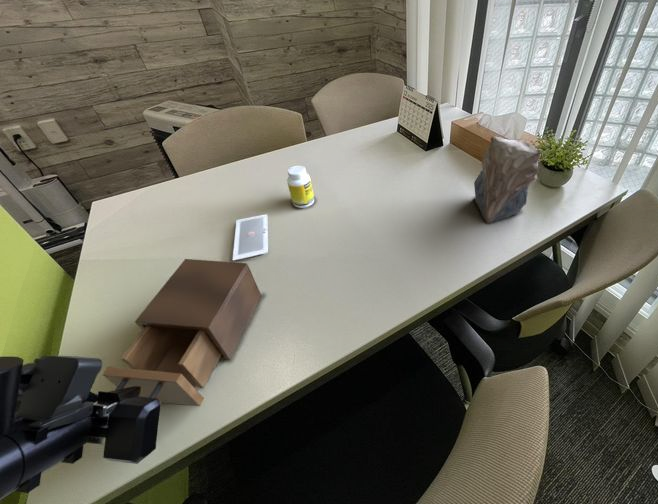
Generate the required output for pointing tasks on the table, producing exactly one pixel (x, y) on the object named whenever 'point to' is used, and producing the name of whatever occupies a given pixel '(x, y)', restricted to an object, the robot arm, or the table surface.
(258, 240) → the touchpad
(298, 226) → the table surface
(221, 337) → the cabinet
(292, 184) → the pill bottle
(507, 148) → the brown grey rock
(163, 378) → the drawer
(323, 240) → the table surface
